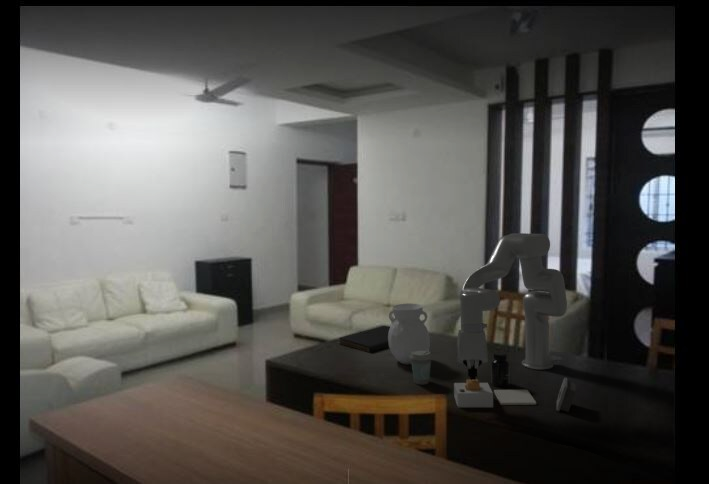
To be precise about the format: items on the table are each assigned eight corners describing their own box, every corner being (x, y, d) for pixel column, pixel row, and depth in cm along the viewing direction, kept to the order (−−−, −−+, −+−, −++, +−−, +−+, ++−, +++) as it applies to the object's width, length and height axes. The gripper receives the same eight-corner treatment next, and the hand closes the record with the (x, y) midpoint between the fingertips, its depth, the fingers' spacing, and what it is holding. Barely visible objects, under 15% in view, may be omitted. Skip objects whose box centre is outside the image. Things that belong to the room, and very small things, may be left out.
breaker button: (477, 391, 181) (477, 379, 181) (479, 395, 177) (479, 383, 177) (466, 391, 181) (466, 379, 181) (468, 395, 177) (467, 383, 177)
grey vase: (382, 366, 222) (381, 309, 220) (395, 353, 239) (394, 301, 237) (424, 369, 215) (423, 311, 213) (434, 357, 232) (433, 303, 230)
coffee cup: (418, 387, 195) (418, 356, 194) (406, 380, 202) (405, 351, 202) (436, 383, 199) (436, 353, 198) (424, 376, 206) (423, 348, 205)
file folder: (384, 325, 281) (417, 332, 263) (384, 332, 281) (417, 340, 263) (338, 337, 259) (371, 346, 241) (338, 345, 259) (371, 355, 241)
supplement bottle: (510, 387, 191) (510, 356, 190) (491, 387, 193) (491, 356, 192) (508, 381, 198) (508, 351, 197) (490, 380, 199) (490, 350, 198)
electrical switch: (556, 401, 177) (559, 375, 176) (572, 404, 175) (575, 378, 174) (556, 412, 169) (559, 385, 168) (573, 415, 167) (576, 388, 166)
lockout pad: (527, 391, 187) (527, 389, 187) (536, 404, 175) (536, 402, 175) (494, 391, 188) (493, 389, 188) (500, 404, 176) (500, 402, 176)
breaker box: (487, 396, 184) (487, 381, 184) (493, 407, 174) (492, 391, 174) (454, 396, 185) (454, 381, 184) (457, 407, 175) (457, 392, 175)
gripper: (491, 324, 181) (492, 374, 182) (449, 325, 182) (449, 375, 183) (495, 329, 173) (496, 382, 174) (451, 330, 174) (452, 382, 176)
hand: (472, 378), depth 179 cm, fingers closed
